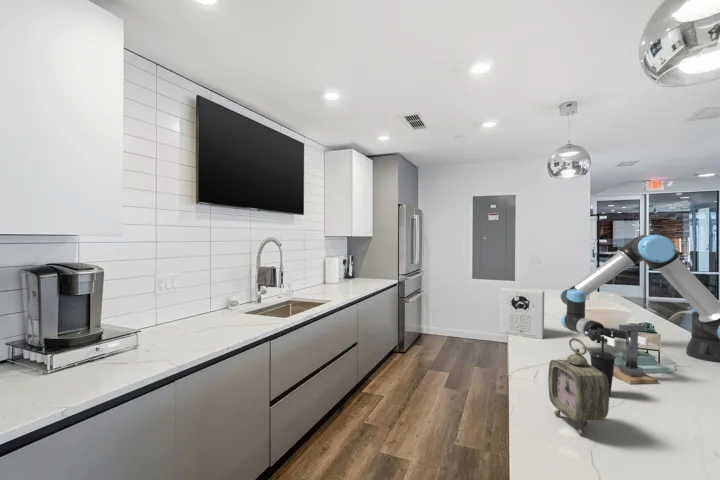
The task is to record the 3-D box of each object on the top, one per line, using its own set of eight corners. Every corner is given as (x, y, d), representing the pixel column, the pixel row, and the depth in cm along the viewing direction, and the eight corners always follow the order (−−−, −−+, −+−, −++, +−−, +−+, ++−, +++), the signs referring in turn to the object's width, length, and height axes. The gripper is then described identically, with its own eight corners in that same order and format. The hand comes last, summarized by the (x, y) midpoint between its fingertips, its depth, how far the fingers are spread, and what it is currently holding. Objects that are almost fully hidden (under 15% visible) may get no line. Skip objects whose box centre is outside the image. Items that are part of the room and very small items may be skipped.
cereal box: (543, 335, 198) (544, 290, 197) (542, 339, 191) (543, 292, 191) (502, 330, 209) (502, 287, 209) (499, 333, 203) (500, 288, 202)
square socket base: (639, 360, 159) (639, 348, 159) (669, 372, 145) (669, 359, 145) (609, 361, 157) (609, 348, 157) (637, 373, 144) (637, 359, 143)
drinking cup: (620, 399, 121) (620, 340, 120) (594, 397, 122) (595, 338, 122) (609, 390, 128) (609, 334, 128) (585, 388, 130) (586, 332, 129)
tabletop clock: (547, 413, 111) (548, 332, 111) (575, 412, 112) (576, 332, 111) (579, 439, 97) (580, 347, 96) (611, 438, 97) (612, 346, 97)
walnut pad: (632, 372, 145) (632, 368, 145) (657, 383, 134) (657, 379, 134) (607, 373, 144) (607, 369, 144) (630, 384, 133) (630, 380, 133)
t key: (636, 371, 142) (637, 323, 142) (648, 376, 137) (648, 326, 137) (615, 372, 141) (616, 323, 141) (626, 377, 136) (626, 326, 136)
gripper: (616, 336, 162) (660, 351, 140) (564, 337, 159) (601, 353, 138) (616, 319, 161) (660, 332, 140) (564, 320, 159) (601, 333, 138)
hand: (631, 342), depth 139 cm, fingers open, 13 cm apart
